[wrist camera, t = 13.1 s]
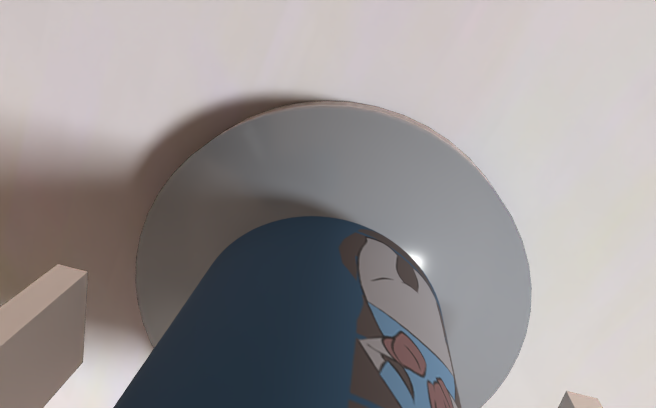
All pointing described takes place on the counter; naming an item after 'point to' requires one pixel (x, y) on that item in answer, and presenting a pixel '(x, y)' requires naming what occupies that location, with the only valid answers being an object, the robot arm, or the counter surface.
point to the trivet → (355, 206)
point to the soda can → (304, 327)
